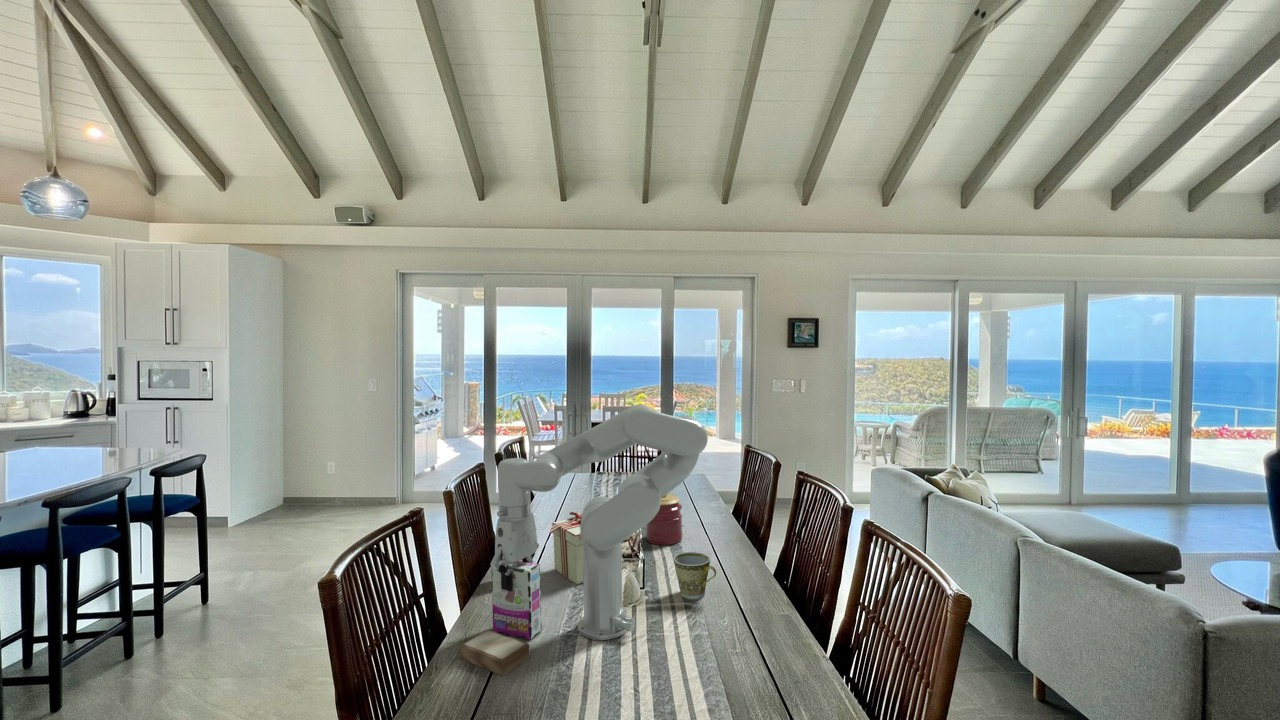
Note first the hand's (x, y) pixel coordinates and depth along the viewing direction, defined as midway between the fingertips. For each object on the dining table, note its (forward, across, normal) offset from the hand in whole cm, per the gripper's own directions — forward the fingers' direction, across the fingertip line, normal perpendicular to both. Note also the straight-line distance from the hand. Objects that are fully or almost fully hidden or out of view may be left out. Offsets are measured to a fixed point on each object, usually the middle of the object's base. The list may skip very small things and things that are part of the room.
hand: (516, 584), depth 133 cm
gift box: (+12, +36, +8) cm, 39 cm away
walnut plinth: (+11, -11, -4) cm, 16 cm away
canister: (+12, +74, +1) cm, 75 cm away
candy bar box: (+12, 0, 0) cm, 12 cm away
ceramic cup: (+12, +39, -29) cm, 50 cm away
